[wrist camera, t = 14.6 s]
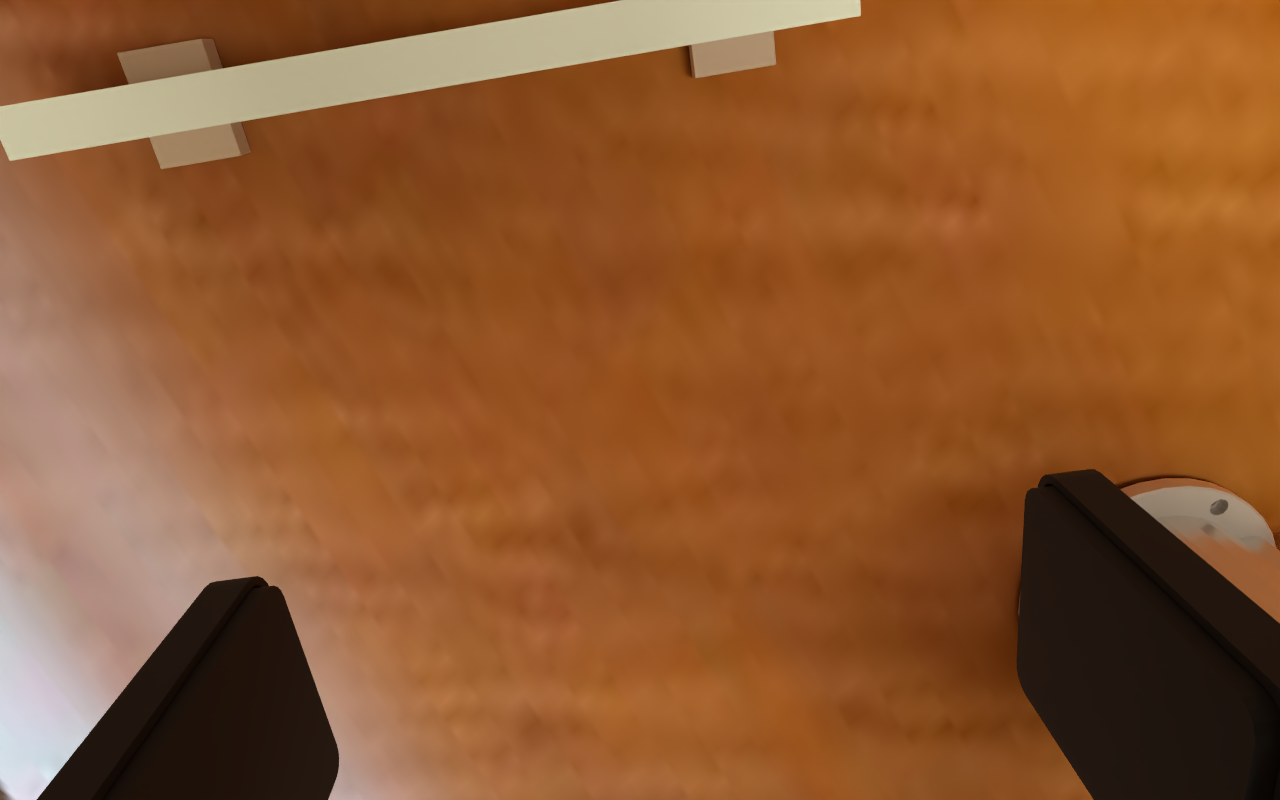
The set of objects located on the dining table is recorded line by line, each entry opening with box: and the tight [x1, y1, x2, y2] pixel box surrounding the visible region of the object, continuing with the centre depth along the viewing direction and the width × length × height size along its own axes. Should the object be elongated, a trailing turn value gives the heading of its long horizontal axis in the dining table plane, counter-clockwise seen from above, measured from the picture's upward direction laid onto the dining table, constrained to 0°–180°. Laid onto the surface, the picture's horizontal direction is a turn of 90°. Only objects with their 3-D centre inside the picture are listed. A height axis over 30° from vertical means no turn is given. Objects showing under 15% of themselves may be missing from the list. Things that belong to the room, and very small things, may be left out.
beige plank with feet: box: [0, 0, 861, 169], centre depth 27 cm, size 26×4×6 cm, turn 99°
